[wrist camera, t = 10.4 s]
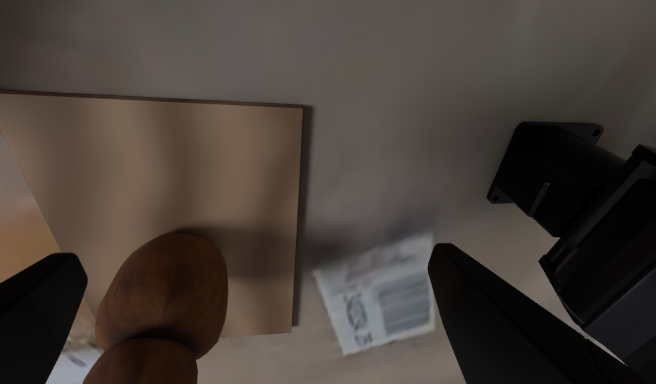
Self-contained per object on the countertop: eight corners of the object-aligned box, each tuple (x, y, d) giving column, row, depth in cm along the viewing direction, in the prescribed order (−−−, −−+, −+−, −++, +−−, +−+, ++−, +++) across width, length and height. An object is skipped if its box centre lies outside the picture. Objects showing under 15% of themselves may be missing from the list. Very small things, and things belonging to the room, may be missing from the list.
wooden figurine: (132, 271, 23) (-26, 597, 11) (137, 211, 21) (-68, 559, 8) (226, 283, 25) (180, 569, 13) (242, 230, 23) (201, 532, 10)
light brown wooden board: (301, 100, 20) (302, 108, 18) (290, 318, 31) (291, 332, 30) (3, 84, 17) (-18, 92, 16) (115, 328, 29) (108, 344, 28)
